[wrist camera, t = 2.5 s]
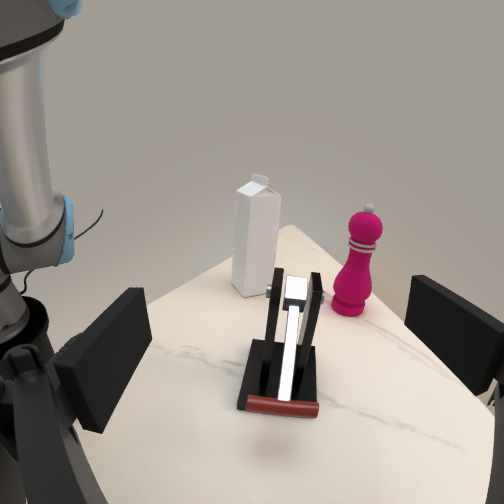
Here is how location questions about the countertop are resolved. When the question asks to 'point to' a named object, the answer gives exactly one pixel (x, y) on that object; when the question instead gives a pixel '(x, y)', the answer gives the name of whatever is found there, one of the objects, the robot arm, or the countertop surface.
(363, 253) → the pepper mill
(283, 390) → the lever
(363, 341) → the countertop surface
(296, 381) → the black lever stand
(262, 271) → the milk
